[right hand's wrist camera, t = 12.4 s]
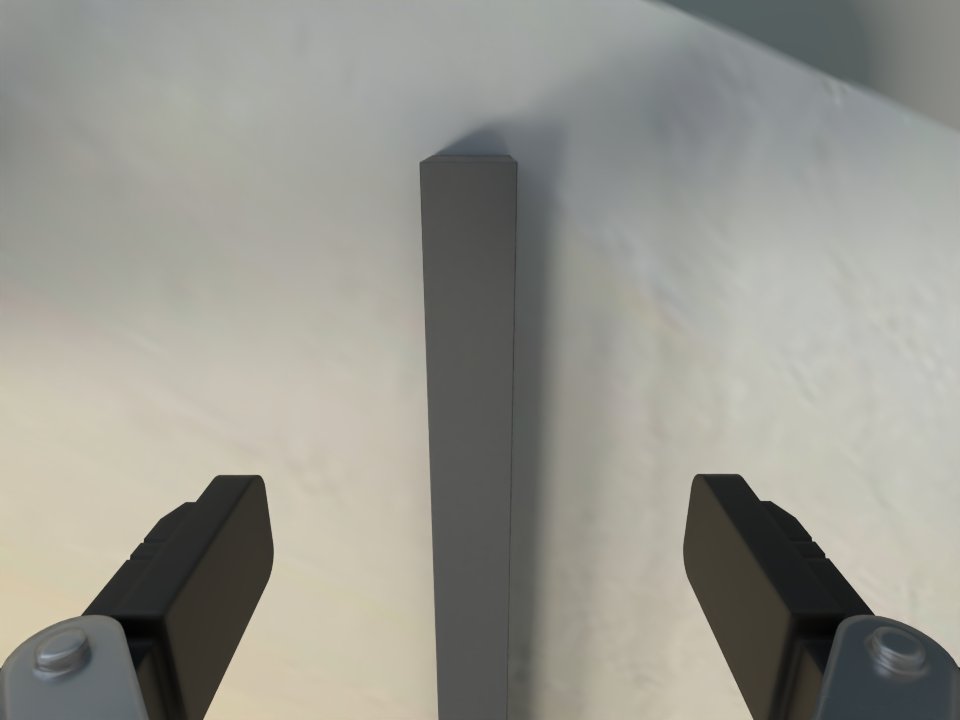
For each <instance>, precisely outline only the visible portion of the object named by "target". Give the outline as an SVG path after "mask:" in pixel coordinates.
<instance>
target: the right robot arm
mask: <svg viewBox="0 0 960 720" xmlns="http://www.w3.org/2000/svg"><path fill="white" fill-rule="evenodd" d="M273 556H274V548H273V539H272V532H271V525H270V518H269V510H268V503H267V496H266V489H265V484H264V481H263V479H262V477H261V476H260V475H218V476H216V477H215V478H214V479H213V480H212V482H211V483H210V484H209V486H208V487H207V488H206V489H205V491H204V492H203V493H202V495H201V496H200V497H199V499H198V500H197V501H196V502H185V503H184V504H182V505H181V506H179V507H178V508H176V509H175V510H173V511H172V512H170V513H169V514H167V515H166V516H164V517H163V518H161V519H160V520H159V521H158V523H157V524H156V525H155V526H154V528H153V529H152V530H151V531H150V532H149V534H148V535H147V536H146V537H145V538H144V543H140V545H139V546H138V547H137V548H136V549H135V551H134V552H133V553H132V554H131V555H130V560H126V562H125V563H124V564H123V565H122V566H121V568H120V569H119V570H118V571H117V572H116V574H115V575H114V576H113V577H112V579H111V580H110V581H109V582H108V583H107V585H106V586H105V587H104V588H103V590H102V591H101V592H100V593H99V594H98V596H97V597H96V598H95V599H94V600H93V602H92V603H91V604H90V605H89V607H88V608H87V609H86V610H85V611H84V613H83V614H82V615H81V616H79V617H75V618H70V619H67V620H64V621H61V622H58V623H56V624H54V625H51V626H49V627H47V628H45V629H43V630H41V631H39V632H38V633H36V634H35V635H33V636H31V637H30V638H28V639H27V640H26V641H25V642H23V643H22V644H21V645H20V646H18V647H17V648H16V649H15V650H14V651H13V652H12V653H11V655H10V656H9V657H8V658H7V659H6V661H5V663H4V664H3V666H2V668H0V720H203V719H204V717H205V714H206V712H207V710H208V708H209V706H210V704H211V702H212V700H213V697H214V695H215V693H216V691H217V689H218V687H219V685H220V683H221V680H222V678H223V676H224V674H225V672H226V670H227V668H228V666H229V663H230V661H231V659H232V657H233V655H234V653H235V651H236V649H237V646H238V644H239V642H240V640H241V638H242V636H243V634H244V632H245V629H246V627H247V625H248V623H249V621H250V619H251V617H252V615H253V612H254V610H255V608H256V606H257V604H258V602H259V600H260V597H261V595H262V593H263V591H264V589H265V587H266V585H267V583H268V580H269V578H270V574H271V570H272V565H273ZM683 556H684V565H685V570H686V574H687V577H688V579H689V582H690V584H691V586H692V588H693V590H694V592H695V595H696V597H697V599H698V601H699V603H700V605H701V608H702V610H703V612H704V614H705V616H706V618H707V620H708V623H709V625H710V627H711V629H712V631H713V633H714V636H715V638H716V640H717V642H718V644H719V646H720V648H721V651H722V653H723V655H724V657H725V659H726V661H727V664H728V666H729V668H730V670H731V672H732V674H733V676H734V679H735V681H736V683H737V685H738V687H739V689H740V691H741V694H742V696H743V698H744V700H745V702H746V704H747V707H748V709H749V711H750V713H751V715H752V717H753V719H754V720H960V668H959V667H958V666H957V664H956V663H955V661H954V659H953V658H952V657H951V656H950V655H949V653H948V652H947V651H946V650H945V649H944V648H943V647H942V646H940V645H939V644H938V643H937V642H935V641H934V640H933V639H932V638H930V637H929V636H927V635H925V634H924V633H922V632H921V631H919V630H917V629H915V628H913V627H911V626H909V625H906V624H904V623H902V622H899V621H896V620H893V619H890V618H885V617H881V616H875V615H874V613H873V612H872V611H871V610H870V608H869V607H868V606H867V605H866V603H865V602H864V601H863V600H862V599H861V597H860V596H859V595H858V594H857V592H856V591H855V590H854V589H853V588H852V586H851V585H850V584H849V583H848V581H847V580H846V579H845V578H844V577H843V575H842V574H841V573H840V572H839V570H838V569H837V568H836V567H835V565H834V564H833V563H832V562H831V561H830V559H829V558H826V557H825V553H824V552H823V551H822V550H821V548H820V547H819V546H818V545H817V543H816V542H812V537H811V536H810V535H809V534H808V532H807V531H806V530H805V529H804V527H803V526H802V525H801V524H800V523H799V521H798V520H797V519H796V518H795V517H794V516H792V515H791V514H789V513H788V512H786V511H785V510H783V509H782V508H780V507H779V506H777V505H776V504H774V503H773V502H771V501H760V500H759V498H758V497H757V496H756V495H755V493H754V492H753V491H752V489H751V488H750V487H749V485H748V484H747V483H746V481H745V480H744V479H743V477H742V476H740V475H739V474H697V475H696V476H695V477H694V479H693V482H692V487H691V494H690V501H689V508H688V515H687V522H686V530H685V537H684V545H683Z"/></svg>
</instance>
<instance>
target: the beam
mask: <svg viewBox="0 0 960 720" xmlns="http://www.w3.org/2000/svg"><path fill="white" fill-rule="evenodd" d="M420 188H421V217H422V247H423V276H424V306H425V335H426V364H427V394H428V423H429V453H430V482H431V511H432V541H433V570H434V600H435V629H436V658H437V688H438V717H439V720H507V688H508V636H509V583H510V530H511V477H512V425H513V372H514V319H515V266H516V214H517V162H516V161H515V160H514V159H513V158H512V157H511V156H431V157H429V158H427V159H425V160H423V161H422V162H420Z"/></svg>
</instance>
